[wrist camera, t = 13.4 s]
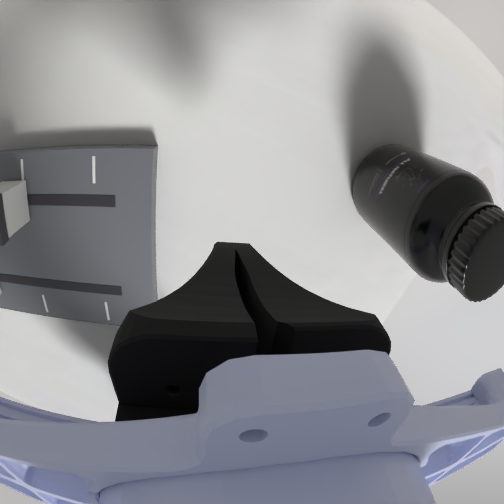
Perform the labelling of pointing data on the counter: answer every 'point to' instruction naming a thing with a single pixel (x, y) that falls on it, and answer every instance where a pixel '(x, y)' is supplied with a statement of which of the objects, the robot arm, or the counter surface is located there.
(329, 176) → the counter surface
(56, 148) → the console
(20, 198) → the fader black
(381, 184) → the supplement bottle
